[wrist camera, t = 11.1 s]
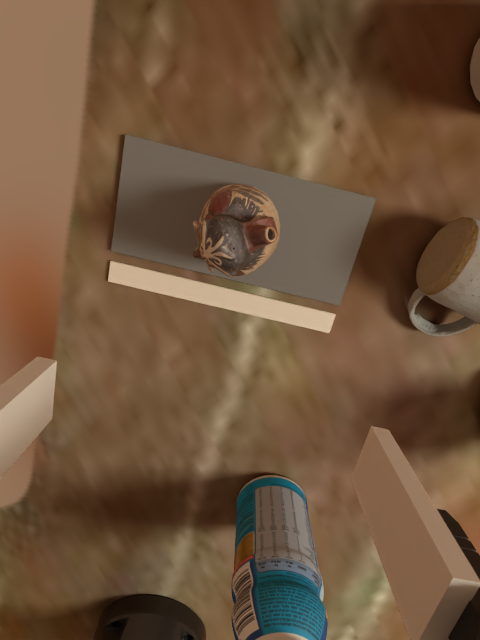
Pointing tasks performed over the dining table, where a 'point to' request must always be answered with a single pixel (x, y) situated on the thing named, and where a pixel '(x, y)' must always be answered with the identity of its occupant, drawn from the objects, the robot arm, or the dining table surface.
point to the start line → (220, 296)
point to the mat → (213, 173)
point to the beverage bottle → (276, 565)
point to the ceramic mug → (450, 277)
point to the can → (475, 70)
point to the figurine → (236, 230)
